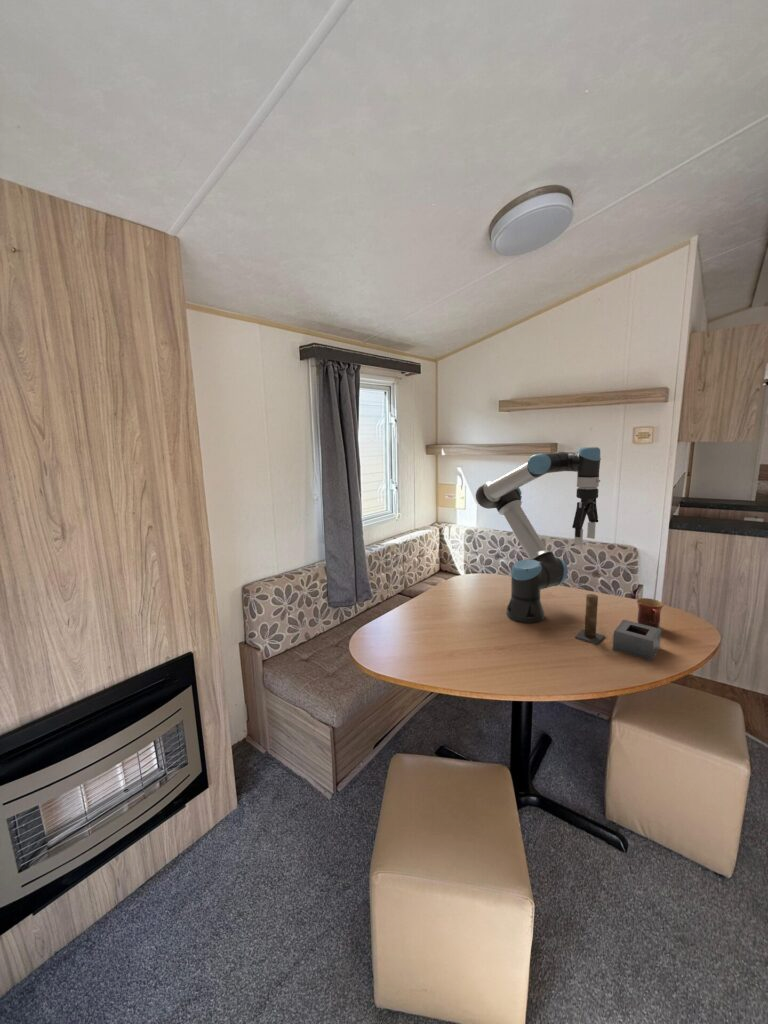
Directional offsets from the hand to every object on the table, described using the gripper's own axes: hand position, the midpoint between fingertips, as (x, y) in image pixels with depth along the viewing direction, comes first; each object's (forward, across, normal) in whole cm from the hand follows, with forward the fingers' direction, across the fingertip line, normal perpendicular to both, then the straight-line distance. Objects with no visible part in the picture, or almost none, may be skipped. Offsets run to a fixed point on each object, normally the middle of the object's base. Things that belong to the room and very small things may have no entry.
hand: (584, 541), depth 162 cm
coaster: (+34, -10, -7) cm, 36 cm away
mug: (+34, +12, -22) cm, 42 cm away
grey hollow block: (+34, -8, -22) cm, 41 cm away
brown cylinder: (+33, -10, -7) cm, 36 cm away
